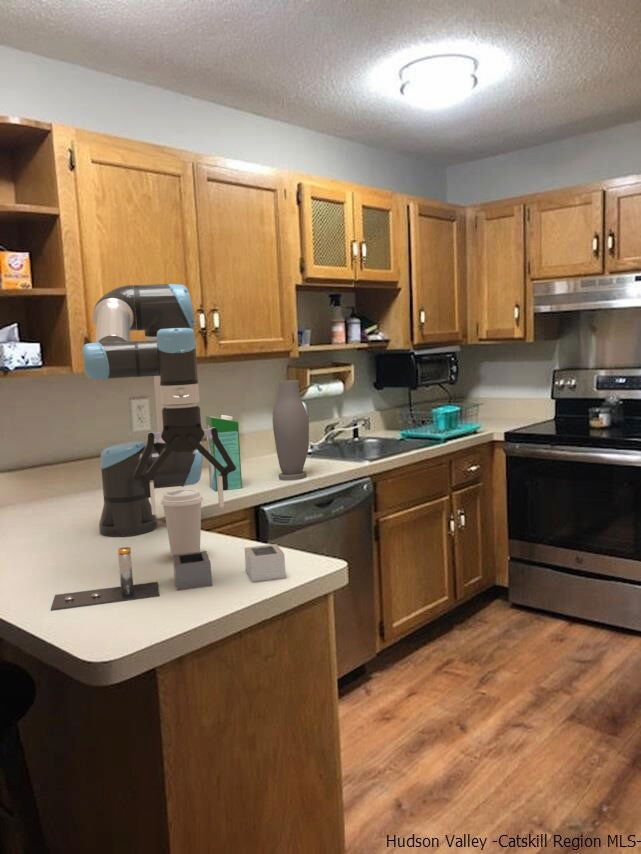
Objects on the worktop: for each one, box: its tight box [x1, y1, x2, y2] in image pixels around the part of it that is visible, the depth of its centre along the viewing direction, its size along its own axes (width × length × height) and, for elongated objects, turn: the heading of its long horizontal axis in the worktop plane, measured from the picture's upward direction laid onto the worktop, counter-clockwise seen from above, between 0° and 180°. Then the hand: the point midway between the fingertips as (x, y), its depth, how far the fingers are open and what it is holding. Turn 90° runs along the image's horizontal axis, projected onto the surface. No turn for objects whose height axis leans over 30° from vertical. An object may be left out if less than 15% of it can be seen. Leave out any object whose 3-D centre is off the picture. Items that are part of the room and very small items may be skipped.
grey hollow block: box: [172, 550, 213, 591], centre depth 144 cm, size 8×7×5 cm
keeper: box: [50, 546, 160, 611], centre depth 138 cm, size 8×20×9 cm, turn 105°
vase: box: [272, 379, 310, 481], centre depth 250 cm, size 13×13×35 cm
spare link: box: [244, 543, 286, 583], centre depth 147 cm, size 8×7×5 cm
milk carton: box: [205, 414, 243, 492], centre depth 238 cm, size 9×9×25 cm
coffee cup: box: [160, 488, 204, 559], centre depth 162 cm, size 10×10×15 cm
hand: (188, 509), depth 142 cm, fingers open, 13 cm apart
